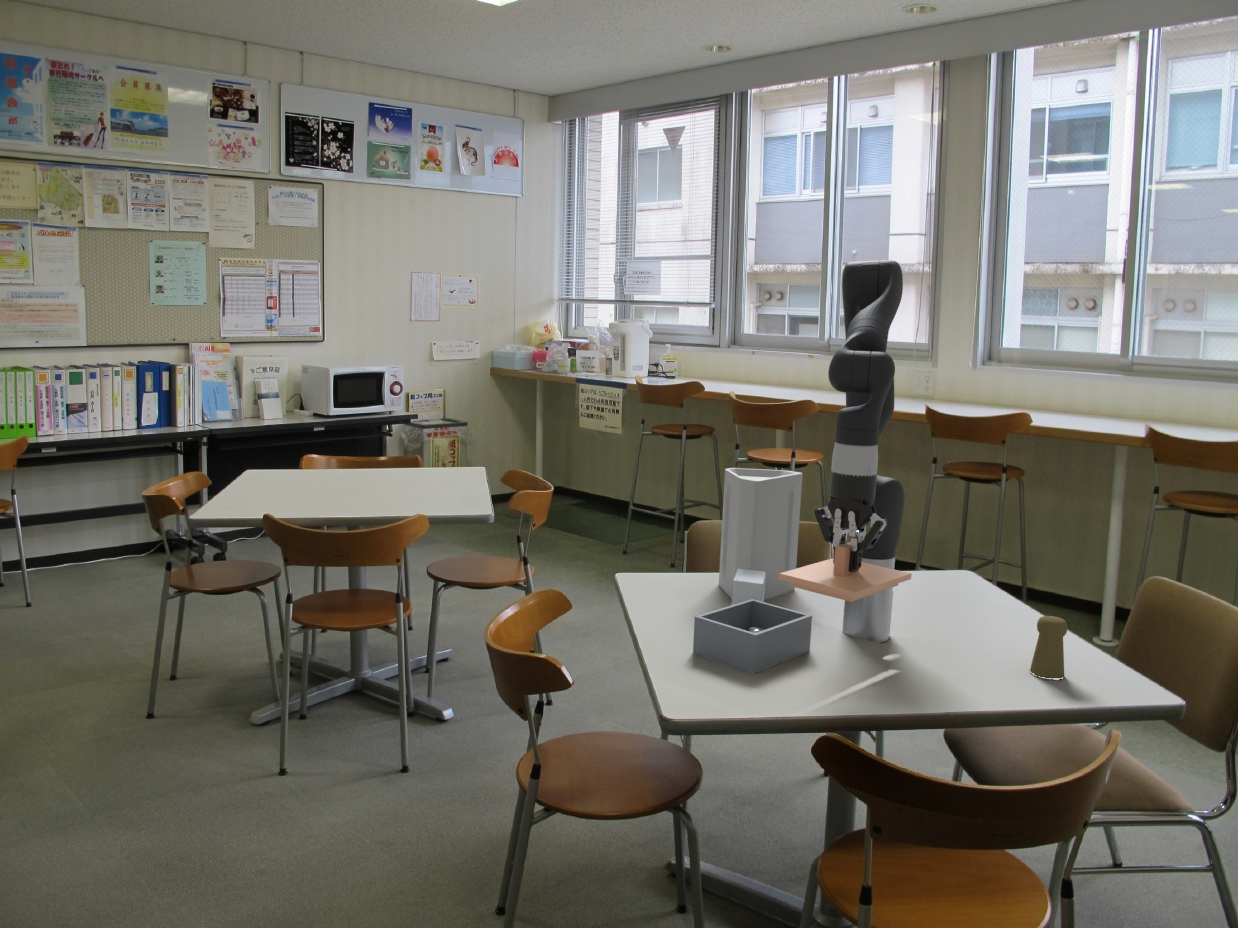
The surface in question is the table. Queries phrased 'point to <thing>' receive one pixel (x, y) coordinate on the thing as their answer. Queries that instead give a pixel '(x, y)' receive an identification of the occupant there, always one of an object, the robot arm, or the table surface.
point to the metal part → (755, 629)
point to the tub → (752, 635)
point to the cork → (1049, 648)
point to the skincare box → (748, 586)
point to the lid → (844, 577)
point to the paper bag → (760, 526)
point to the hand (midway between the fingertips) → (846, 569)
